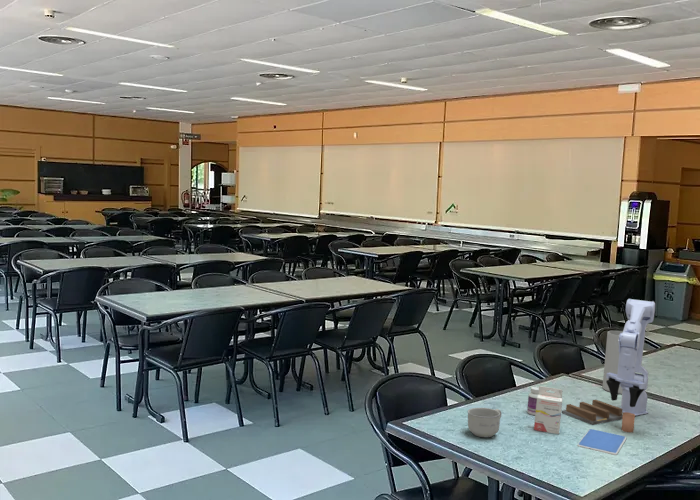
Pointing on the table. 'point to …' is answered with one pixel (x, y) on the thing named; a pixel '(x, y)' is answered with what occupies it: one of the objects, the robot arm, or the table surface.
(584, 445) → the tablet computer
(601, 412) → the comb rack
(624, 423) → the terracotta plug
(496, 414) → the teacup
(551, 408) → the ink cartridge box
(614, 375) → the robot arm
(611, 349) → the cylinder vase
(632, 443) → the table surface
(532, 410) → the pill bottle
